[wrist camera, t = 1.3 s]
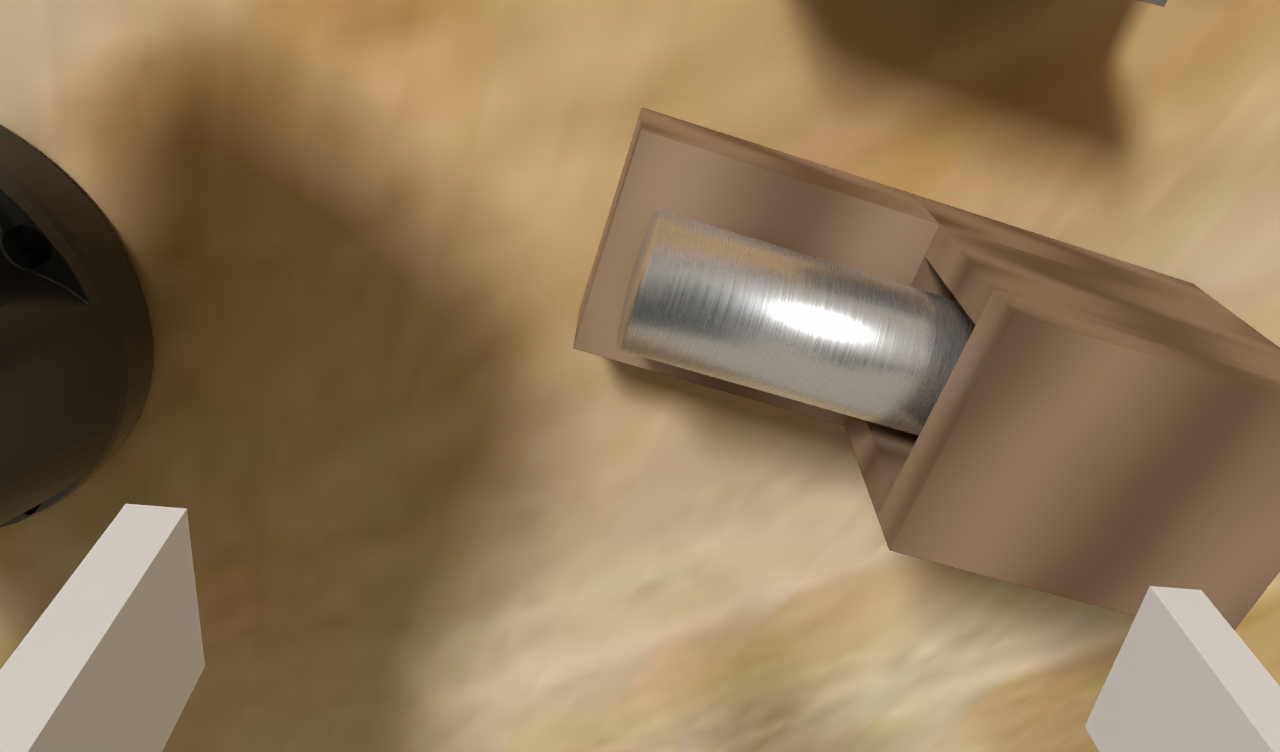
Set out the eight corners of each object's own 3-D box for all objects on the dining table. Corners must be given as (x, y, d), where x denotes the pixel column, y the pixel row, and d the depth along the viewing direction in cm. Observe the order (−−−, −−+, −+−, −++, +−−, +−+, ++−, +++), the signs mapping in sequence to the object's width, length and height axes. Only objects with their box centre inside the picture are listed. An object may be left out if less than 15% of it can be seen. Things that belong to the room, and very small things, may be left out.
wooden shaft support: (579, 310, 33) (554, 460, 24) (642, 107, 30) (639, 198, 21) (1087, 457, 35) (1226, 640, 27) (1193, 283, 32) (1389, 428, 24)
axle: (618, 314, 29) (614, 374, 26) (659, 191, 28) (660, 237, 24) (1147, 468, 32) (1209, 542, 28) (1215, 363, 30) (1291, 428, 26)
